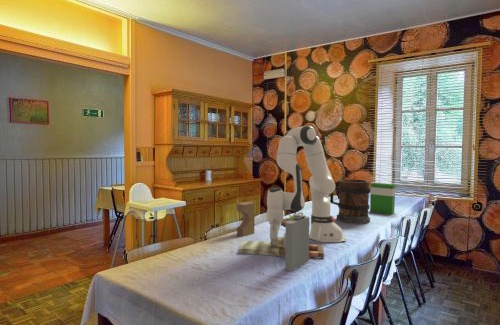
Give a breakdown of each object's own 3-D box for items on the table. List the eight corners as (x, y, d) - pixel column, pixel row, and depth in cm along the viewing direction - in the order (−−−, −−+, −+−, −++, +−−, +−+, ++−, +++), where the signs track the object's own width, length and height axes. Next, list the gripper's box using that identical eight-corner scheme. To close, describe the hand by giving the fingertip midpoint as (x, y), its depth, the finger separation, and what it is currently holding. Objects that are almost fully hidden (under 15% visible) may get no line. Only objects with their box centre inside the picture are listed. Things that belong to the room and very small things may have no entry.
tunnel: (298, 245, 181) (298, 233, 180) (298, 250, 172) (298, 238, 172) (284, 244, 182) (284, 232, 181) (283, 249, 174) (283, 237, 173)
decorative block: (242, 236, 205) (242, 204, 203) (236, 234, 209) (236, 203, 208) (254, 233, 212) (255, 202, 211) (248, 231, 217) (249, 201, 215)
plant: (308, 221, 246) (308, 206, 245) (310, 228, 227) (310, 212, 226) (281, 220, 248) (281, 205, 247) (281, 227, 229) (281, 211, 228)
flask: (301, 259, 166) (302, 210, 165) (309, 261, 163) (310, 211, 162) (282, 269, 153) (282, 216, 151) (290, 272, 150) (291, 218, 148)
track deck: (322, 249, 181) (322, 244, 181) (324, 258, 168) (324, 253, 168) (244, 244, 189) (244, 240, 188) (239, 253, 175) (239, 248, 175)
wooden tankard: (365, 225, 233) (366, 183, 231) (325, 220, 249) (325, 180, 247) (372, 219, 252) (374, 180, 250) (335, 214, 268) (336, 177, 266)
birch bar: (300, 246, 179) (300, 239, 178) (300, 249, 174) (300, 241, 174) (271, 243, 181) (271, 236, 181) (270, 246, 177) (270, 238, 176)
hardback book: (370, 211, 280) (370, 183, 278) (372, 210, 285) (373, 182, 284) (391, 214, 269) (392, 185, 267) (394, 212, 275) (395, 184, 273)
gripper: (279, 222, 167) (279, 249, 168) (281, 213, 187) (281, 237, 188) (267, 222, 168) (266, 248, 169) (270, 213, 188) (270, 237, 189)
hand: (274, 242), depth 178 cm, fingers closed on birch bar, 4 cm apart
